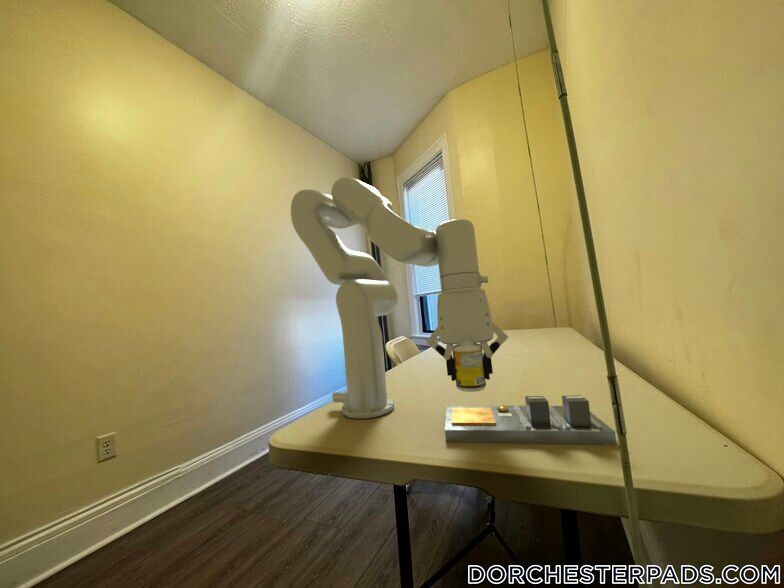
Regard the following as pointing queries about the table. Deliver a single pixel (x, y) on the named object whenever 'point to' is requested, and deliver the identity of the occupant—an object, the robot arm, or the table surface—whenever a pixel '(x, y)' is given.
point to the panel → (522, 425)
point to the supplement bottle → (469, 367)
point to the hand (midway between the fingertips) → (470, 377)
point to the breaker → (576, 410)
